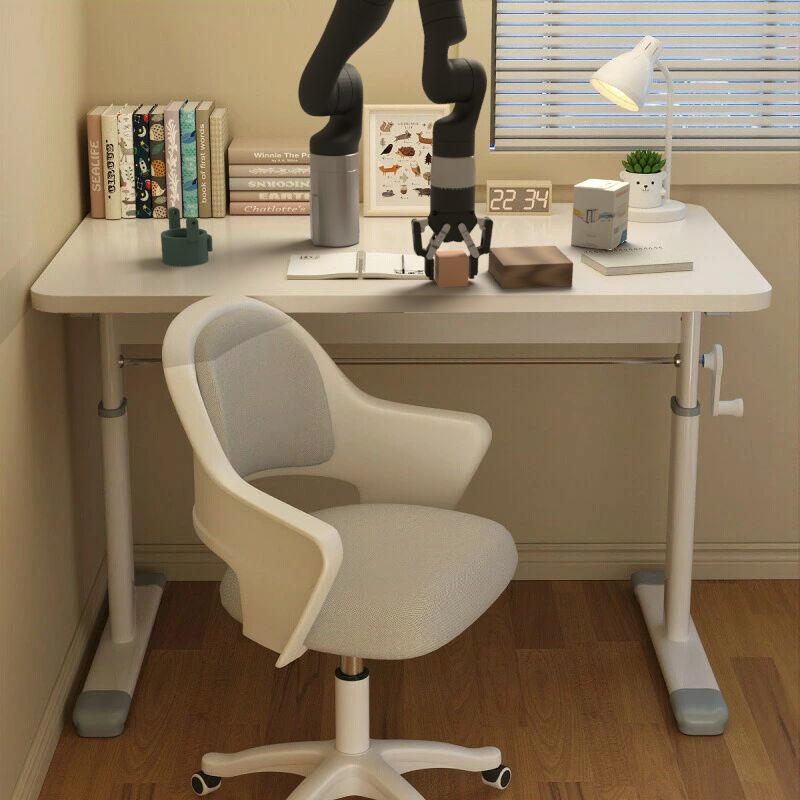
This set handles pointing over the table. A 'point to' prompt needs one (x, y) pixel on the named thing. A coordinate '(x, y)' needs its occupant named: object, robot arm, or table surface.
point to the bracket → (184, 242)
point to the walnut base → (530, 267)
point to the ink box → (600, 213)
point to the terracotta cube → (451, 268)
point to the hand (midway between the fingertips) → (451, 278)
